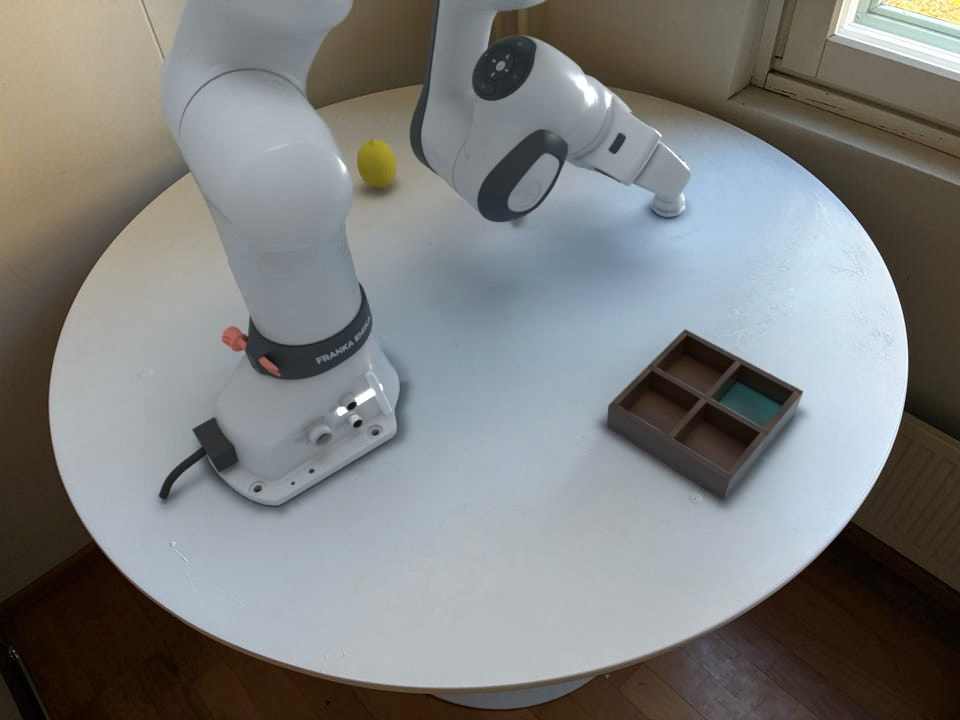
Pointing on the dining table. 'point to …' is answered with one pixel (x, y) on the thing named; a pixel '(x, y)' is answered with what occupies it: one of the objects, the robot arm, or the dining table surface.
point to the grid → (704, 411)
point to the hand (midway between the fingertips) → (644, 165)
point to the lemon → (376, 163)
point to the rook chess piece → (669, 203)
